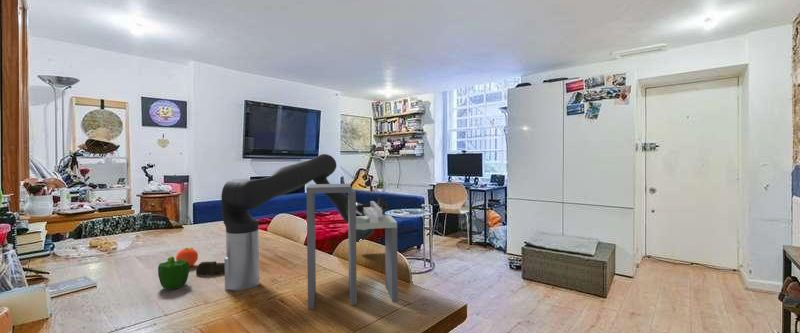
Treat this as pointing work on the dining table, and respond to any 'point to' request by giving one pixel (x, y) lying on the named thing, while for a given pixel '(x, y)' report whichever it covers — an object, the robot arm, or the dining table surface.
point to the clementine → (188, 255)
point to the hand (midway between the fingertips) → (367, 200)
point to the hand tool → (210, 268)
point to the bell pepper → (173, 273)
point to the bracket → (373, 213)
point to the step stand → (351, 242)
